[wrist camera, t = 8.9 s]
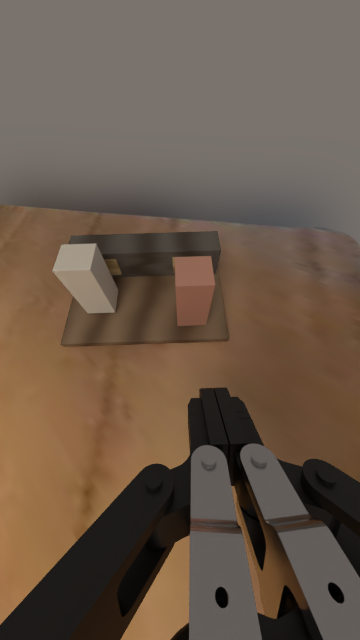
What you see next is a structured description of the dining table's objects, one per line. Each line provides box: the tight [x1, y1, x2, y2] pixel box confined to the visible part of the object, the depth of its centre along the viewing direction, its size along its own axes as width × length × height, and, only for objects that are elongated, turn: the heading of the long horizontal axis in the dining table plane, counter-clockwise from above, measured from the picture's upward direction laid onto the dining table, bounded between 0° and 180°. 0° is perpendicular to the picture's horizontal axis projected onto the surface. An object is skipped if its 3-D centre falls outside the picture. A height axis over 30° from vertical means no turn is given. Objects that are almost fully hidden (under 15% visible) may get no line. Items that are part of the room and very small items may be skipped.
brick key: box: [175, 256, 215, 326], centre depth 25 cm, size 4×4×9 cm
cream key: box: [53, 243, 118, 313], centre depth 26 cm, size 4×4×9 cm
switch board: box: [61, 231, 229, 347], centre depth 29 cm, size 23×16×6 cm
